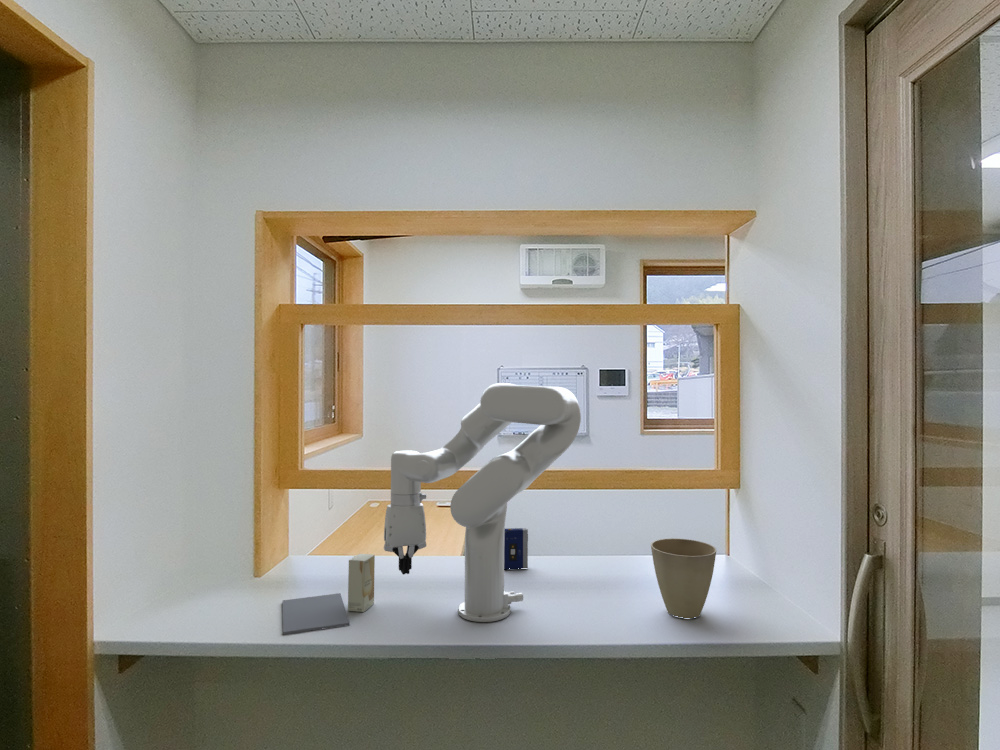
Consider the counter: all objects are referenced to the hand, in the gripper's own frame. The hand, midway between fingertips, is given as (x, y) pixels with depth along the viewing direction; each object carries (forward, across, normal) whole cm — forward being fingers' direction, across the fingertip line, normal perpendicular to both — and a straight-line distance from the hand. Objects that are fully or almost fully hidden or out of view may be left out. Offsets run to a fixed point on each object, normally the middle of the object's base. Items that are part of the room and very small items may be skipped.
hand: (405, 572), depth 143 cm
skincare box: (+7, +11, 0) cm, 13 cm away
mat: (+7, +22, 0) cm, 23 cm away
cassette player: (+7, -36, -14) cm, 39 cm away
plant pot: (+7, -60, +32) cm, 69 cm away
